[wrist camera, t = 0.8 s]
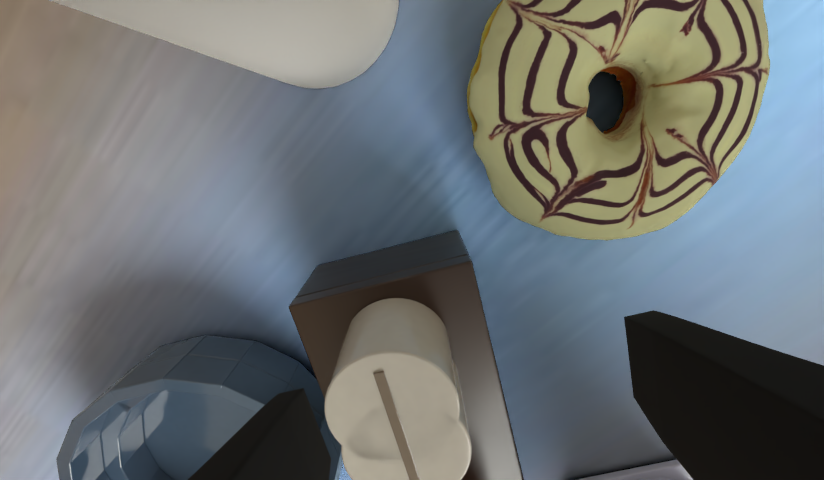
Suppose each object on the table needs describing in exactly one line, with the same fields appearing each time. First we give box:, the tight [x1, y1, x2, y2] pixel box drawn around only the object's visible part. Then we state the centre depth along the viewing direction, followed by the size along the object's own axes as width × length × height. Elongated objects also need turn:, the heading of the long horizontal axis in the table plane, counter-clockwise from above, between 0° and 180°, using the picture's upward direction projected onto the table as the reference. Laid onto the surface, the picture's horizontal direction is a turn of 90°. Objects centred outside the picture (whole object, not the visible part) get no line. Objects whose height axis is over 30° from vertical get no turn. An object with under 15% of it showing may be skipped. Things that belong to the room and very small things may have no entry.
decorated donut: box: [467, 0, 770, 240], centre depth 15 cm, size 10×11×4 cm
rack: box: [289, 230, 524, 480], centre depth 18 cm, size 16×7×4 cm, turn 15°
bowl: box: [57, 335, 342, 480], centre depth 19 cm, size 12×12×4 cm
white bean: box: [324, 298, 472, 480], centre depth 13 cm, size 6×4×4 cm
